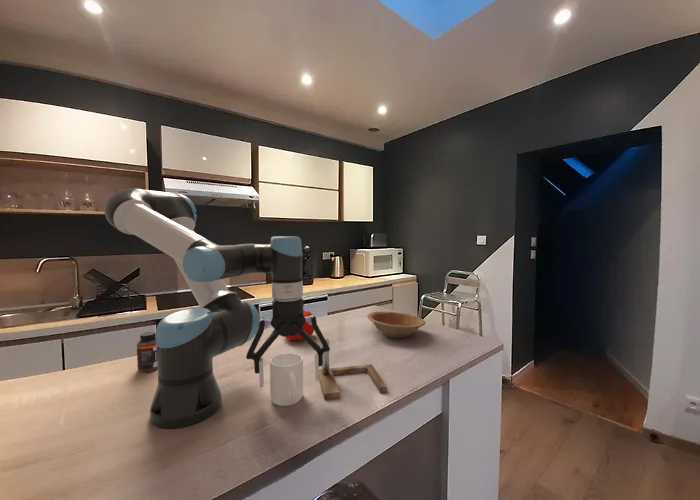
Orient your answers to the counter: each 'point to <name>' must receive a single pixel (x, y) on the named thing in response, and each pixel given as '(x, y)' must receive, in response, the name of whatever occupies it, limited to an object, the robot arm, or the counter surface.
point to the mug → (286, 379)
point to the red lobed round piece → (306, 327)
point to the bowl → (396, 323)
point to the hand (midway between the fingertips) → (289, 381)
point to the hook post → (325, 361)
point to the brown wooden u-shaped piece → (329, 381)
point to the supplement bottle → (147, 352)
